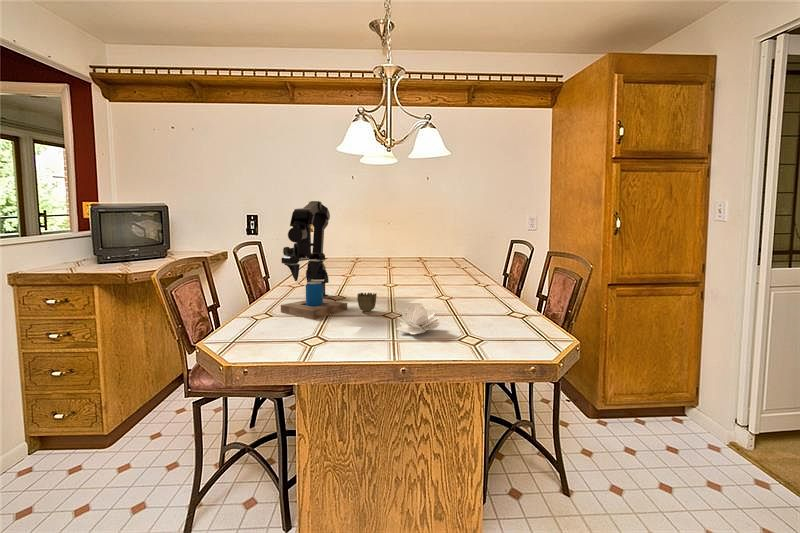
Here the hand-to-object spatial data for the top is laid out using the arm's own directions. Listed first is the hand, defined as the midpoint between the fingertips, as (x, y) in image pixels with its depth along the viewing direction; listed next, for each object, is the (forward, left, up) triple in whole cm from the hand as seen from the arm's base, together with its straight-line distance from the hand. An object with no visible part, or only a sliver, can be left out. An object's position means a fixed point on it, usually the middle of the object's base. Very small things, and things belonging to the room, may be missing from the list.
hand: (304, 279), depth 178 cm
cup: (-8, +26, -12) cm, 30 cm away
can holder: (+3, +8, -12) cm, 15 cm away
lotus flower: (+1, +56, -13) cm, 57 cm away
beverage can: (+3, +8, -12) cm, 15 cm away
